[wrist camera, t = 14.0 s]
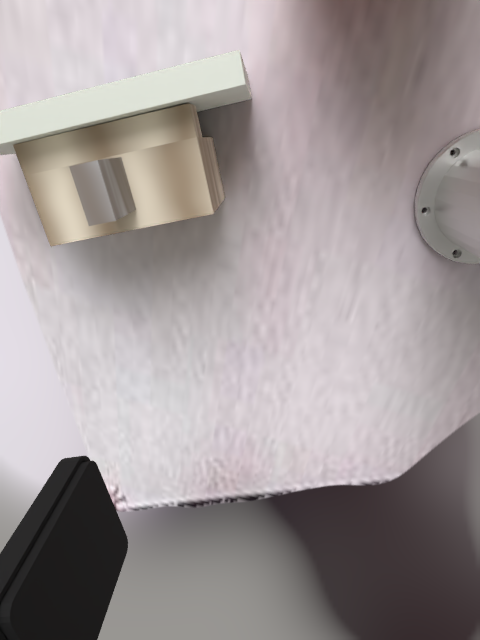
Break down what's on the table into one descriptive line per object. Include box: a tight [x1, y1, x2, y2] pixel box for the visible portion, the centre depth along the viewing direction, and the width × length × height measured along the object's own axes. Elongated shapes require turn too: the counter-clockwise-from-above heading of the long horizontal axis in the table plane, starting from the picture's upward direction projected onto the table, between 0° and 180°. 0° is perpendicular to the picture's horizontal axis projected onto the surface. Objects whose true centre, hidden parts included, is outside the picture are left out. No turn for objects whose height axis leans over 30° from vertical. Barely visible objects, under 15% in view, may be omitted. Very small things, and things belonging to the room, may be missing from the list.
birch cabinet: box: [13, 103, 225, 246], centre depth 36 cm, size 14×8×15 cm, turn 102°
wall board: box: [0, 50, 252, 155], centre depth 35 cm, size 23×2×12 cm, turn 102°
